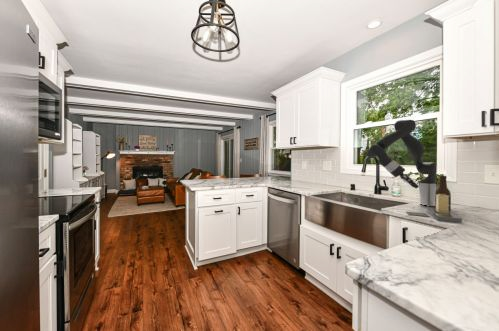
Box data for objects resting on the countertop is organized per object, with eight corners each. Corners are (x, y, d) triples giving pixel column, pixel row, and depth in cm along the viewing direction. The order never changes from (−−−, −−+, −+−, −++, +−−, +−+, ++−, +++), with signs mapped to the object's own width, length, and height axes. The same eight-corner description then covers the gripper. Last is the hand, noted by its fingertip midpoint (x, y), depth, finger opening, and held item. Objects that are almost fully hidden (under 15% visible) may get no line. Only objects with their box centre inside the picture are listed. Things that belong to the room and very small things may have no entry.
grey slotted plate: (426, 211, 143) (426, 208, 143) (446, 213, 138) (446, 209, 138) (437, 220, 120) (437, 216, 120) (461, 223, 115) (461, 218, 115)
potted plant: (444, 210, 147) (444, 175, 147) (454, 212, 140) (454, 176, 140) (432, 210, 148) (432, 175, 148) (441, 212, 140) (441, 176, 140)
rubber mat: (406, 212, 141) (406, 211, 141) (425, 213, 137) (425, 213, 137) (408, 215, 133) (408, 214, 133) (429, 217, 128) (429, 216, 128)
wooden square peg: (436, 215, 132) (436, 193, 132) (445, 216, 130) (446, 194, 130) (438, 217, 128) (438, 194, 128) (448, 218, 126) (448, 195, 126)
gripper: (400, 164, 133) (424, 183, 127) (398, 164, 145) (419, 182, 140) (390, 172, 135) (412, 192, 130) (388, 172, 148) (408, 189, 142)
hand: (416, 186), depth 135 cm, fingers open, 8 cm apart
